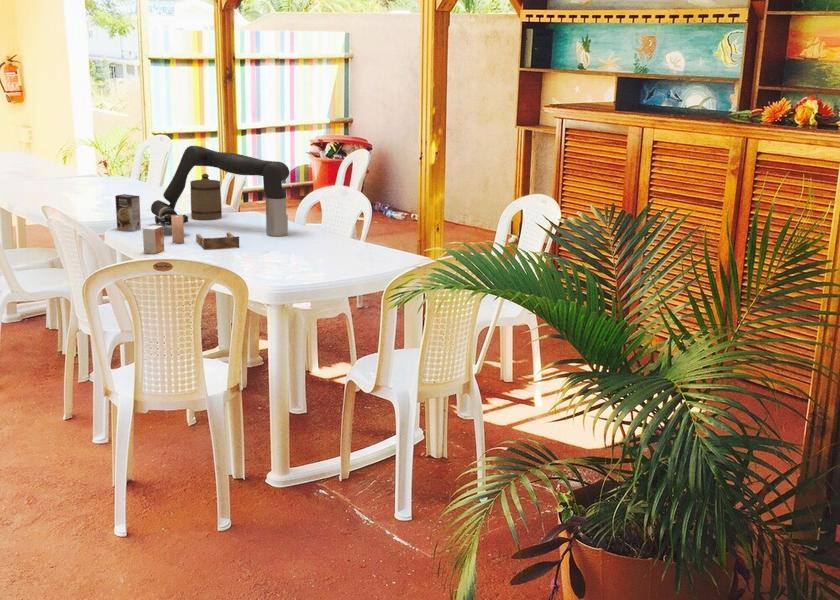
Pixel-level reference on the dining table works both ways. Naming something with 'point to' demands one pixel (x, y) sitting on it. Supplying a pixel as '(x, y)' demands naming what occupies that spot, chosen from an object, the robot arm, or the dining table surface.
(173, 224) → the salmon orange cylinder
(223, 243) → the keyhole track
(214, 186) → the wooden container
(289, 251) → the dining table surface
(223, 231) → the dining table surface
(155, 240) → the small box
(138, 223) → the coffee box
